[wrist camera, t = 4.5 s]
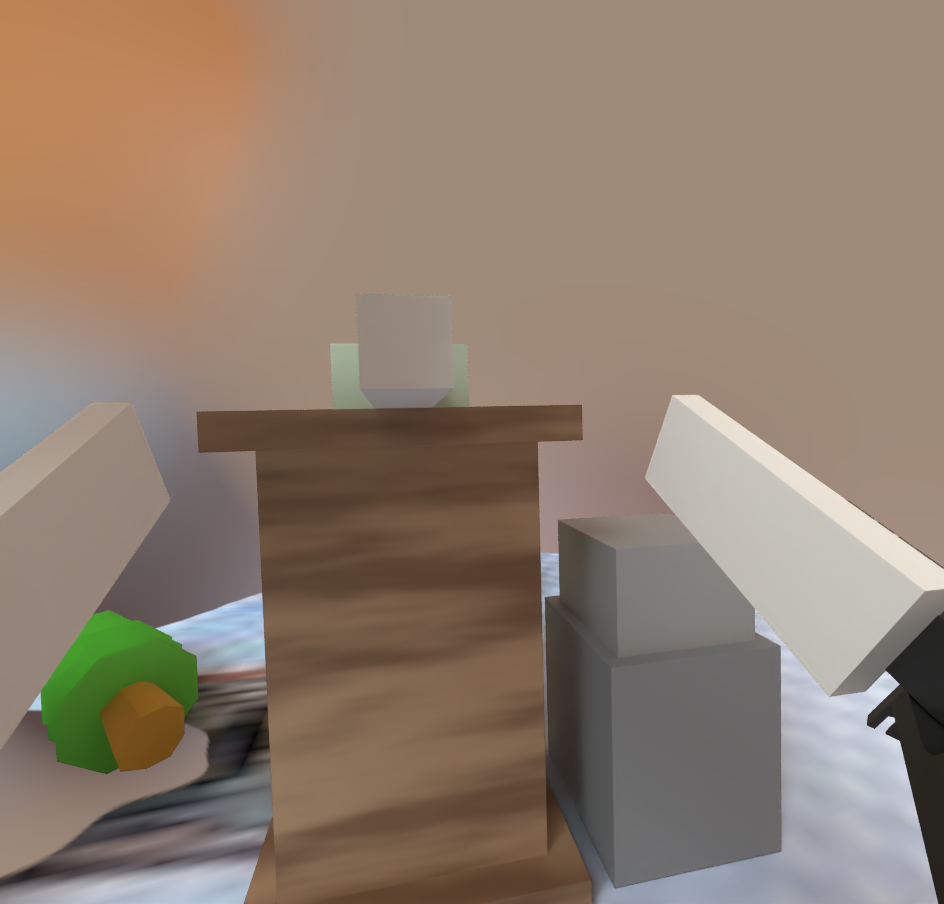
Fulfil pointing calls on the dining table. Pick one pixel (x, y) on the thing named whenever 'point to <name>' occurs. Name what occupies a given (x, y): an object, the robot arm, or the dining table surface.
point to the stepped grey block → (661, 700)
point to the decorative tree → (119, 696)
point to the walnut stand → (405, 655)
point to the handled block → (400, 356)
